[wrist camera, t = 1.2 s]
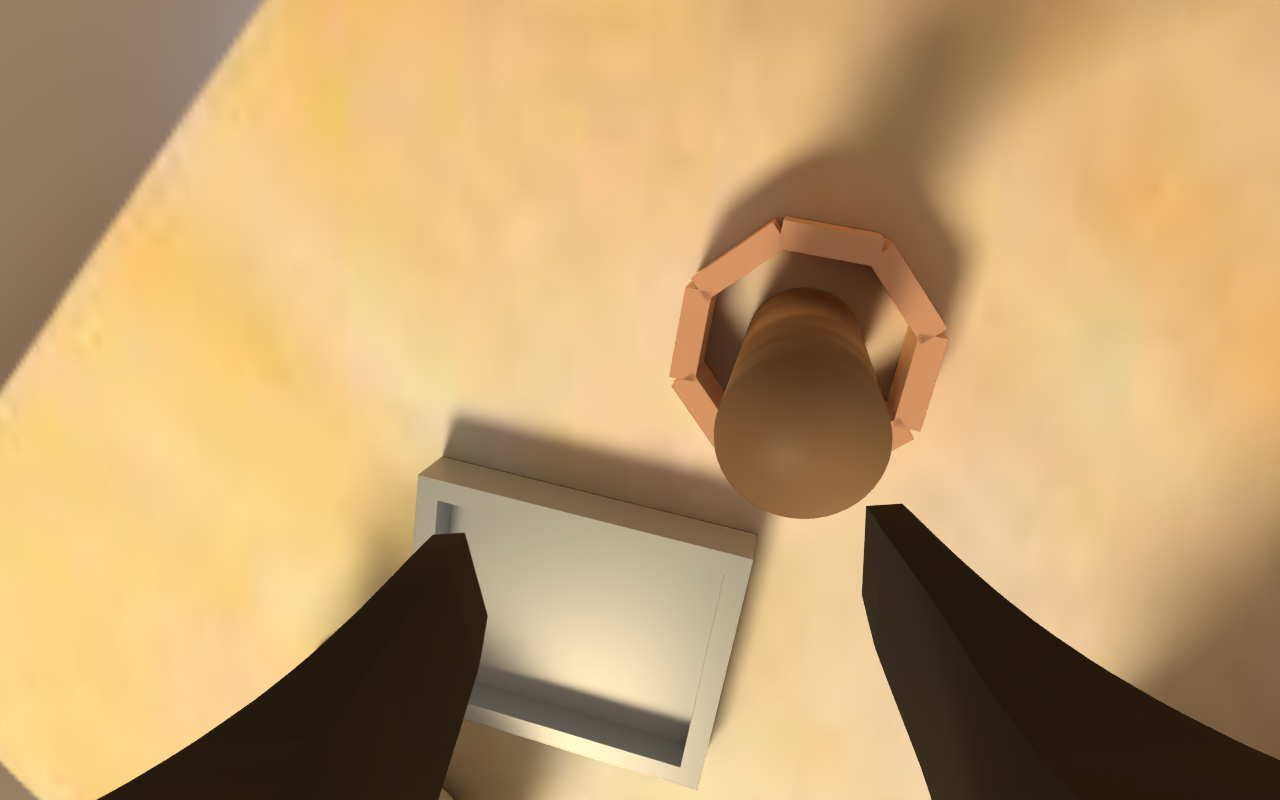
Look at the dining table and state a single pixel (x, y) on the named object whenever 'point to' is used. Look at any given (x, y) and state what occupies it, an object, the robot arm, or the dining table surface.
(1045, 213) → the dining table surface
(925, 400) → the ring holder
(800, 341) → the dowel
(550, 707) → the tray
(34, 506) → the dining table surface
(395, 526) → the dining table surface
